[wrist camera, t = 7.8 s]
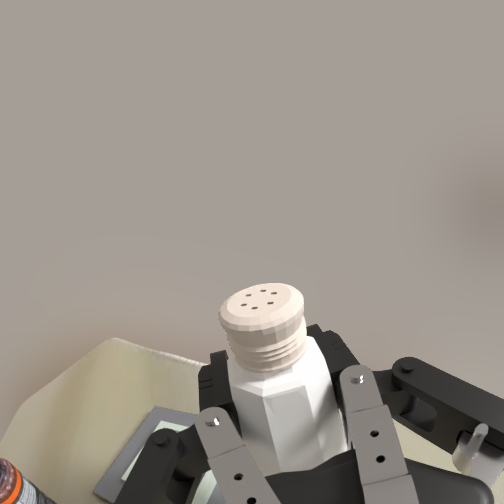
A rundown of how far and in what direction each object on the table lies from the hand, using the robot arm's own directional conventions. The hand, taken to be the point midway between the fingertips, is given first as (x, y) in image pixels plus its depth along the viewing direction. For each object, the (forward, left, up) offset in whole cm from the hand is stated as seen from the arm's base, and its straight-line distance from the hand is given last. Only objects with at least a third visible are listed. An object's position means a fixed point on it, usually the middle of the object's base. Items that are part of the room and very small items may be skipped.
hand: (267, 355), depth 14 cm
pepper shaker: (+1, -2, -7) cm, 7 cm away
